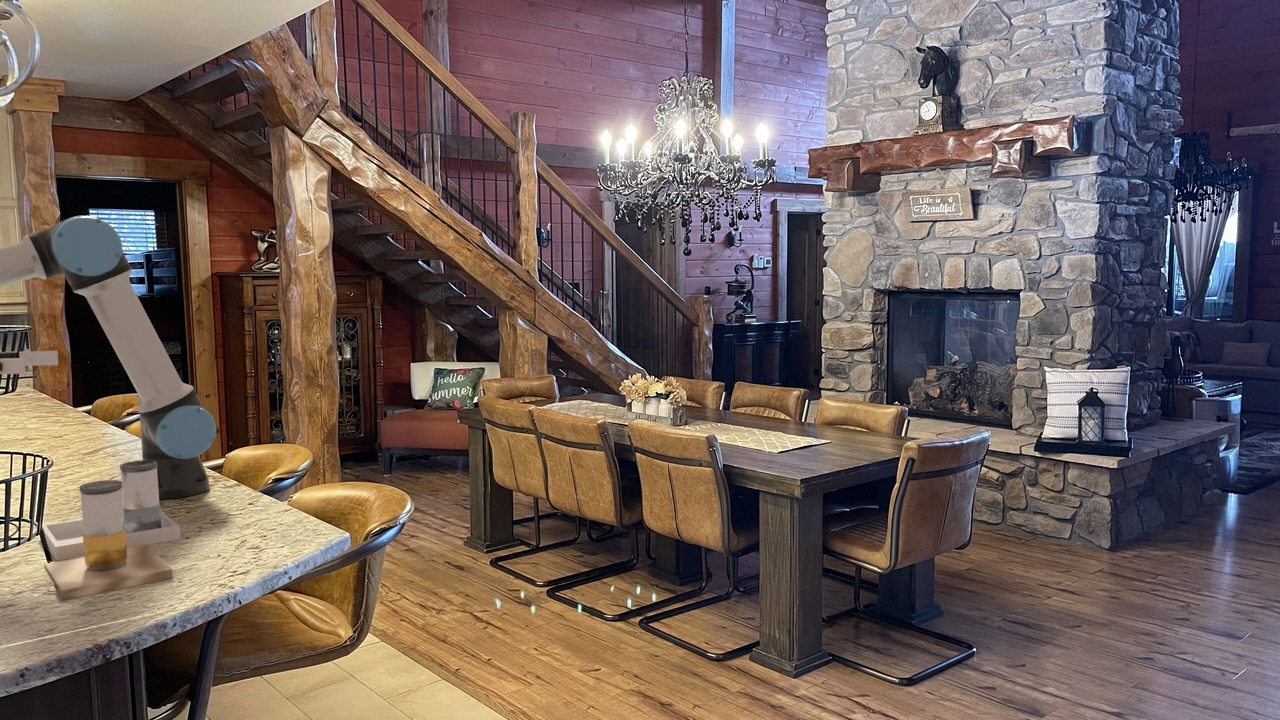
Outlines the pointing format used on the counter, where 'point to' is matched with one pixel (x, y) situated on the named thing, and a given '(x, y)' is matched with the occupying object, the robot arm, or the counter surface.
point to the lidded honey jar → (103, 525)
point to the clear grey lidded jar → (140, 496)
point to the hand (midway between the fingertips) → (41, 361)
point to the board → (107, 573)
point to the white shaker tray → (69, 534)
